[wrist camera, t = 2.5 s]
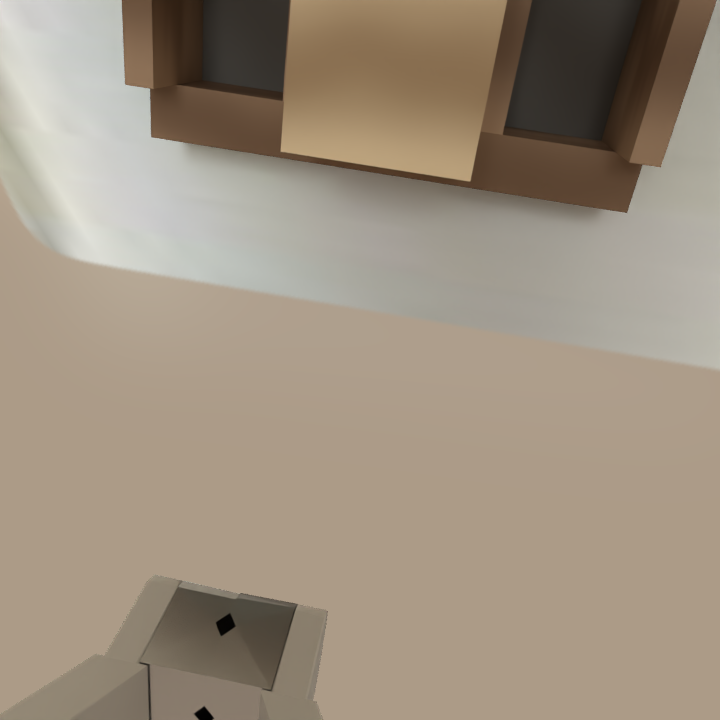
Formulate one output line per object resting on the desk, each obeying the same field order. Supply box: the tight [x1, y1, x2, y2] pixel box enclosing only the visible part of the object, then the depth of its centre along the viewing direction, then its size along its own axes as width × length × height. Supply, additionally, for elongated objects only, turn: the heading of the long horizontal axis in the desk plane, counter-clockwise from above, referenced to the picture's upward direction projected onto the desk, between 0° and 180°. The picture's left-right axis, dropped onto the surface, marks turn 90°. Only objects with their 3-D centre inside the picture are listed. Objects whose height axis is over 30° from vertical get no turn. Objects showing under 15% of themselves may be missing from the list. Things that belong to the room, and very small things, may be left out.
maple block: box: [281, 0, 507, 182], centre depth 21 cm, size 6×6×4 cm
